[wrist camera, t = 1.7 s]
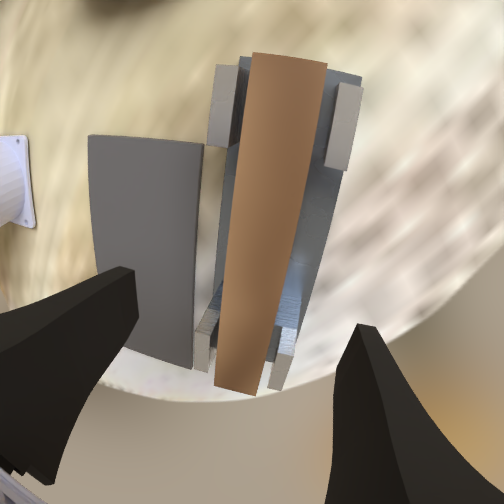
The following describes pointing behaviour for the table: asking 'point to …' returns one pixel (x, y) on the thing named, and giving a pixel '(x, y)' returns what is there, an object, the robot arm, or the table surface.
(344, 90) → the stand
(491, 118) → the table surface
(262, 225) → the rail
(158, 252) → the mat
